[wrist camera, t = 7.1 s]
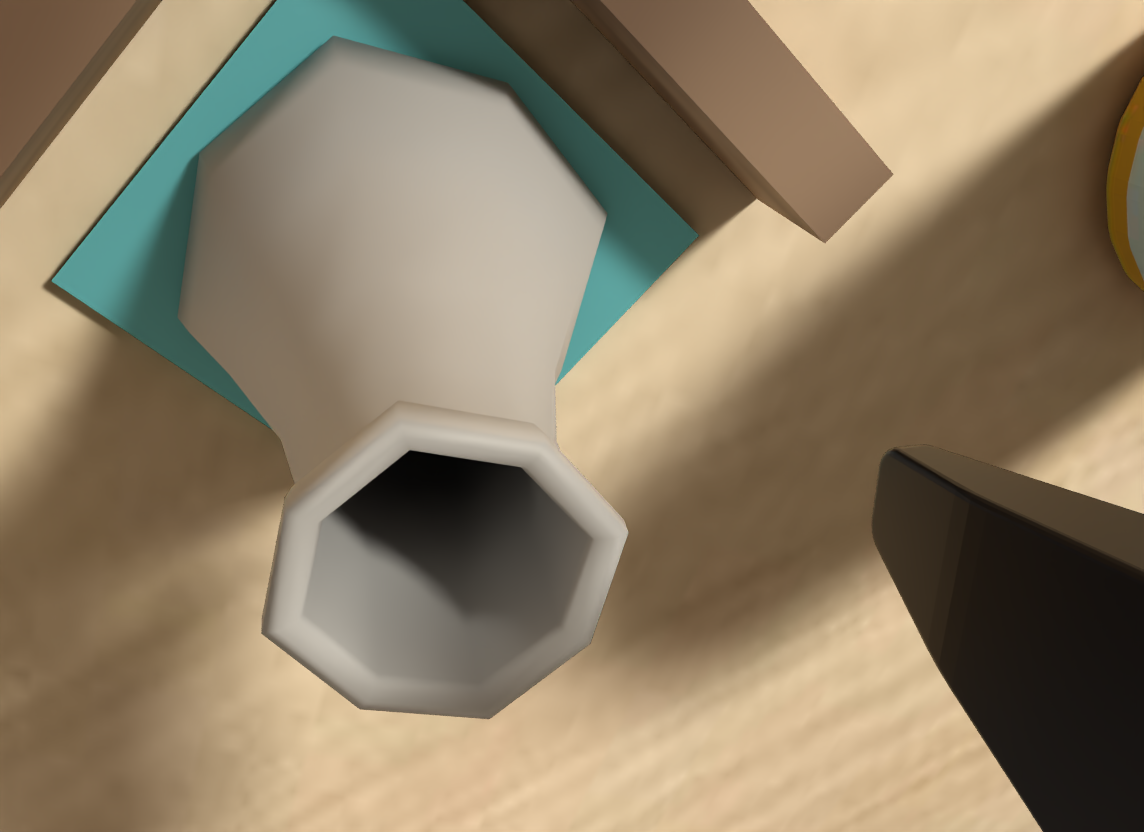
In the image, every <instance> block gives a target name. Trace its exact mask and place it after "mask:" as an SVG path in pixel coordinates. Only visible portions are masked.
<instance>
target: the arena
mask: <svg viewBox="0 0 1144 832" xmlns="http://www.w3.org/2000/svg"><path fill="white" fill-rule="evenodd" d="M161 1H162V0H0V208H1V207H2V206H3V205H4V203H5V202H6V201H7V199H8V198H9V197H10V196H11V194H12V193H13V192H14V190H15V189H16V188H17V187H18V185H19V184H20V183H21V181H22V180H23V179H24V178H25V176H26V175H27V174H28V172H29V171H30V170H31V169H32V167H33V166H34V165H35V163H36V162H37V161H38V159H39V158H40V157H41V156H42V154H43V153H44V152H45V150H46V149H47V148H48V147H49V145H50V144H51V143H52V141H53V140H54V139H55V138H56V136H57V135H58V134H59V132H60V131H61V130H62V129H63V127H64V126H65V125H66V123H67V122H68V121H69V120H70V118H71V117H72V116H73V114H74V113H75V112H76V111H77V109H78V108H79V107H80V105H81V104H82V103H83V102H84V100H85V99H86V98H87V96H88V95H89V94H90V93H91V91H92V90H93V89H94V87H95V86H96V85H97V84H98V82H99V81H100V80H101V78H102V77H103V76H104V75H105V73H106V72H107V71H108V69H109V68H110V67H111V66H112V64H113V63H114V62H115V60H116V59H117V58H118V57H119V55H120V54H121V53H122V51H123V50H124V49H125V48H126V46H127V45H128V44H129V42H130V41H131V40H132V39H133V37H134V36H135V35H136V33H137V32H138V31H139V30H140V28H141V27H142V26H143V24H144V23H145V22H146V20H147V19H148V18H149V17H150V15H151V14H152V13H153V11H154V10H155V9H156V8H157V6H158V5H159V4H160V2H161ZM571 1H572V2H573V4H574V5H575V6H576V7H577V8H578V9H579V10H580V11H581V12H582V13H583V14H584V15H585V16H586V17H587V18H588V19H589V21H590V22H591V23H592V24H593V25H594V26H595V27H596V28H597V29H598V30H599V31H600V32H601V33H602V34H603V35H604V36H605V38H606V39H607V40H608V41H609V42H610V43H611V44H612V45H613V46H614V47H615V48H616V49H617V50H618V51H619V52H620V53H621V55H622V56H623V57H624V58H625V59H626V60H627V61H628V62H629V63H630V64H631V65H632V66H633V67H634V68H635V69H636V70H637V72H638V73H639V74H640V75H641V76H642V77H643V78H644V79H645V80H646V81H647V82H648V83H649V84H650V85H651V86H652V87H653V89H654V90H655V91H656V92H657V93H658V94H659V95H660V96H661V97H662V98H663V99H664V100H665V101H666V102H667V103H668V104H669V105H670V107H671V108H672V109H673V110H674V111H675V112H676V113H677V114H678V115H679V116H680V117H681V118H682V119H683V120H684V121H685V122H686V124H687V125H688V126H689V127H690V128H691V129H692V130H693V131H694V132H695V133H696V134H697V135H698V136H699V137H700V138H701V139H702V141H703V142H704V143H705V144H706V145H707V146H708V147H709V148H710V149H711V150H712V151H713V152H714V153H715V154H716V155H717V156H718V158H719V159H720V160H721V161H722V162H723V163H724V164H725V165H726V166H727V167H728V168H729V169H730V170H731V171H732V172H733V173H734V175H735V176H736V177H737V178H738V179H739V180H740V181H741V182H742V183H743V184H744V185H745V186H746V187H747V188H748V189H749V190H750V192H751V193H752V194H753V195H754V196H755V197H756V198H757V199H758V200H760V201H761V202H763V203H764V204H766V205H767V206H769V207H770V208H772V209H773V210H775V211H776V212H778V213H779V214H781V215H782V216H784V217H786V218H787V219H789V220H790V221H792V222H793V223H795V224H796V225H798V226H799V227H801V228H802V229H804V230H805V231H807V232H808V233H810V234H812V235H813V236H815V237H816V238H818V239H819V240H821V241H822V242H824V243H826V242H827V241H828V240H829V239H830V238H831V237H832V236H833V235H834V234H835V233H836V232H837V231H838V230H839V229H840V228H841V227H842V226H843V225H844V224H845V223H846V222H847V221H848V220H849V219H850V218H851V217H852V216H853V215H854V214H855V213H856V212H857V211H858V210H859V209H860V208H861V206H862V205H863V204H864V203H865V202H866V201H867V200H868V199H869V198H870V197H871V196H872V195H873V194H874V193H875V192H876V191H877V190H878V189H879V188H880V187H881V186H882V185H883V184H884V183H885V182H886V181H887V180H888V179H889V178H890V177H891V176H892V175H893V173H892V172H891V171H890V170H889V168H888V167H887V166H886V165H885V164H884V162H883V161H882V160H881V159H880V158H879V157H878V155H877V154H876V153H875V152H874V151H873V149H872V148H871V147H870V146H869V145H868V143H867V142H866V141H865V140H864V139H863V137H862V136H861V135H860V134H859V133H858V131H857V130H856V129H855V128H854V127H853V126H852V124H851V123H850V122H849V121H848V120H847V118H846V117H845V116H844V115H843V114H842V112H841V111H840V110H839V109H838V108H837V106H836V105H835V104H834V103H833V102H832V100H831V99H830V98H829V97H828V96H827V94H826V93H825V92H824V91H823V90H822V89H821V87H820V86H819V85H818V84H817V83H816V81H815V80H814V79H813V78H812V77H811V75H810V74H809V73H808V72H807V71H806V69H805V68H804V67H803V66H802V65H801V63H800V62H799V61H798V60H797V59H796V58H795V56H794V55H793V54H792V53H791V52H790V50H789V49H788V48H787V47H786V46H785V44H784V43H783V42H782V41H781V40H780V38H779V37H778V36H777V35H776V34H775V32H774V31H773V30H772V29H771V28H770V26H769V25H768V24H767V23H766V22H765V21H764V19H763V18H762V17H761V16H760V15H759V13H758V12H757V11H756V10H755V9H754V7H753V6H752V5H751V4H750V3H749V1H748V0H571Z"/></svg>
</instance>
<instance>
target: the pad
mask: <svg viewBox="0 0 1144 832" xmlns="http://www.w3.org/2000/svg"><path fill="white" fill-rule="evenodd" d="M333 35H334V36H337V37H341V38H345V39H348V40H352V41H356V42H359V43H363V44H367V45H371V46H374V47H378V48H382V49H385V50H389V51H393V52H396V53H400V54H404V55H407V56H411V57H415V58H418V59H422V60H426V61H430V62H433V63H437V64H441V65H444V66H448V67H452V68H455V69H459V70H463V71H466V72H470V73H474V74H477V75H481V76H485V77H488V78H492V79H496V80H500V81H503V82H507V83H509V85H510V86H511V87H512V88H513V90H514V91H515V92H516V94H517V95H518V96H519V98H520V99H521V100H522V102H523V103H524V104H525V106H526V107H527V108H528V110H529V111H530V112H531V113H532V115H533V116H534V117H535V119H536V120H537V121H538V123H539V124H540V125H541V127H542V128H543V129H544V131H545V132H546V133H547V134H548V136H549V137H550V138H551V140H552V141H553V142H554V144H555V145H556V146H557V148H558V149H559V150H560V152H561V153H562V154H563V155H564V157H565V158H566V159H567V161H568V162H569V163H570V165H571V166H572V167H573V169H574V170H575V171H576V173H577V174H578V175H579V177H580V178H581V179H582V180H583V182H584V183H585V184H586V186H587V187H588V188H589V190H590V191H591V192H592V194H593V195H594V196H595V198H596V199H597V200H598V201H599V203H600V204H601V205H602V207H603V208H604V209H605V211H606V212H607V213H608V214H607V217H606V221H605V224H604V227H603V231H602V234H601V238H600V241H599V244H598V248H597V251H596V255H595V258H594V262H593V265H592V268H591V272H590V275H589V279H588V282H587V285H586V289H585V292H584V296H583V299H582V302H581V306H580V309H579V313H578V316H577V319H576V323H575V326H574V330H573V333H572V337H571V340H570V343H569V347H568V350H567V354H566V357H565V360H564V363H563V367H562V370H561V372H560V375H559V377H558V379H557V381H556V383H555V385H556V384H557V383H558V382H559V381H560V380H561V379H562V378H563V377H564V376H565V375H566V374H567V373H568V372H569V371H570V370H571V369H572V368H573V367H574V365H575V364H576V363H577V362H578V361H579V360H580V359H581V358H582V357H583V356H584V355H585V354H586V353H587V352H588V351H589V350H590V349H591V348H592V347H593V346H594V345H595V344H596V343H597V341H598V340H599V339H600V338H601V337H602V336H603V335H604V334H605V333H606V332H607V331H608V330H609V329H610V328H611V327H612V326H613V325H614V324H615V323H616V322H617V321H618V320H619V319H620V317H621V316H622V315H623V314H624V313H625V312H626V311H627V310H628V309H629V308H630V307H631V306H632V305H633V304H634V303H635V302H636V301H637V300H638V299H639V298H640V297H641V296H642V295H643V293H644V292H645V291H646V290H647V289H648V288H649V287H650V286H651V285H652V284H653V283H654V282H655V281H656V280H657V279H658V278H659V277H660V276H661V275H662V274H663V273H664V272H665V271H666V269H667V268H668V267H669V266H670V265H671V264H672V263H673V262H674V261H675V260H676V259H677V258H678V257H679V256H680V255H681V254H682V253H683V252H684V251H685V250H686V249H687V248H688V247H689V245H690V244H691V243H692V242H693V241H694V240H695V239H696V238H697V237H698V236H699V235H698V234H697V233H696V232H695V231H694V230H693V229H692V228H691V227H690V226H689V225H688V224H687V223H686V222H685V221H684V220H683V219H682V218H681V217H680V216H679V215H678V214H677V213H676V212H675V211H674V210H673V209H672V208H671V207H670V206H669V205H668V204H667V203H666V202H665V201H664V200H663V199H662V198H661V197H660V196H659V195H658V194H657V193H656V192H655V191H654V190H653V189H652V188H651V187H650V186H649V185H648V184H647V183H646V182H645V181H644V180H643V179H642V178H641V177H640V176H639V175H638V174H637V173H636V172H635V171H634V170H633V169H632V168H631V167H630V166H629V165H628V164H627V163H626V162H625V161H624V160H623V159H622V158H621V157H620V156H619V155H618V154H617V153H616V152H615V151H614V150H613V149H612V148H611V147H610V146H609V145H608V144H607V143H606V142H605V141H604V140H603V139H602V138H601V137H600V136H599V135H598V134H597V133H596V132H595V131H594V130H593V129H592V128H591V127H590V126H589V125H588V124H587V123H586V122H585V121H584V120H583V119H582V118H581V117H580V116H579V115H578V114H577V113H576V112H575V111H574V110H573V109H572V108H571V107H570V106H569V105H568V104H567V103H566V102H565V101H564V100H563V99H562V98H561V97H560V96H559V95H558V94H557V93H556V92H555V91H554V90H553V89H552V88H551V87H550V86H549V85H548V84H547V83H546V82H545V81H544V80H543V79H542V78H541V77H540V76H539V75H538V74H537V73H536V72H535V71H534V70H533V69H532V68H530V67H529V66H528V65H527V64H526V63H525V62H524V61H523V60H522V59H521V58H520V57H519V56H518V55H517V54H516V53H515V52H514V51H513V50H512V49H511V48H510V47H509V46H508V45H507V44H506V43H505V42H504V41H503V40H502V39H501V38H500V37H499V36H498V35H497V34H496V33H495V32H494V31H493V30H492V29H491V28H490V27H489V26H488V25H487V24H486V23H485V22H484V21H483V20H482V19H481V18H480V17H479V16H478V15H477V14H476V13H475V12H474V11H473V10H472V9H471V8H470V7H469V6H468V5H467V4H466V3H465V2H464V1H463V0H277V1H276V2H275V3H274V5H273V6H272V7H271V8H270V10H269V11H268V12H267V13H266V15H265V16H264V17H263V18H262V19H261V21H260V22H259V23H258V24H257V26H256V27H255V28H254V29H253V31H252V32H251V33H250V34H249V36H248V37H247V38H246V39H245V41H244V42H243V43H242V44H241V46H240V47H239V48H238V49H237V51H236V52H235V53H234V54H233V56H232V57H231V58H230V59H229V61H228V62H227V63H226V64H225V66H224V67H223V68H222V69H221V70H220V72H219V73H218V74H217V75H216V77H215V78H214V79H213V80H212V82H211V83H210V84H209V85H208V87H207V88H206V89H205V90H204V92H203V93H202V94H201V95H200V97H199V98H198V99H197V100H196V102H195V103H194V104H193V105H192V107H191V108H190V109H189V110H188V112H187V113H186V114H185V115H184V116H183V118H182V119H181V120H180V121H179V123H178V124H177V125H176V126H175V128H174V129H173V130H172V131H171V133H170V134H169V135H168V136H167V138H166V139H165V140H164V141H163V143H162V144H161V145H160V146H159V148H158V149H157V150H156V151H155V153H154V154H153V155H152V156H151V158H150V159H149V160H148V161H147V162H146V164H145V165H144V166H143V167H142V169H141V170H140V171H139V172H138V174H137V175H136V176H135V177H134V179H133V180H132V181H131V182H130V184H129V185H128V186H127V187H126V189H125V190H124V191H123V192H122V194H121V195H120V196H119V197H118V199H117V200H116V201H115V202H114V204H113V205H112V206H111V207H110V208H109V210H108V211H107V212H106V213H105V215H104V216H103V217H102V218H101V220H100V221H99V222H98V223H97V225H96V226H95V227H94V228H93V230H92V231H91V232H90V233H89V235H88V236H87V237H86V238H85V240H84V241H83V242H82V243H81V245H80V246H79V247H78V248H77V250H76V251H75V252H74V253H73V254H72V256H71V257H70V258H69V259H68V261H67V262H66V263H65V264H64V266H63V267H62V268H61V269H60V271H59V272H58V273H57V274H56V276H55V277H54V278H53V279H52V282H53V283H55V284H56V285H58V286H59V287H61V288H62V289H64V290H65V291H67V292H68V293H70V294H71V295H73V296H74V297H76V298H77V299H79V300H80V301H82V302H83V303H85V304H86V305H87V306H89V307H90V308H92V309H93V310H95V311H96V312H98V313H99V314H101V315H102V316H104V317H105V318H107V319H108V320H110V321H111V322H113V323H114V324H116V325H117V326H119V327H120V328H122V329H123V330H125V331H126V332H128V333H129V334H131V335H132V336H134V337H135V338H137V339H138V340H140V341H141V342H142V343H144V344H145V345H147V346H148V347H150V348H151V349H153V350H154V351H156V352H157V353H159V354H160V355H162V356H163V357H165V358H166V359H168V360H169V361H171V362H172V363H174V364H175V365H177V366H178V367H180V368H181V369H183V370H184V371H186V372H187V373H189V374H190V375H192V376H193V377H195V378H196V379H197V380H199V381H200V382H202V383H203V384H205V385H206V386H208V387H209V388H211V389H212V390H214V391H215V392H217V393H218V394H220V395H221V396H223V397H224V398H226V399H227V400H229V401H230V402H232V403H233V404H235V405H236V406H238V407H239V408H241V409H242V410H244V411H245V412H247V413H248V414H250V415H251V416H252V417H254V418H255V419H257V420H258V421H260V422H261V423H263V424H264V425H266V426H267V427H269V428H270V429H272V428H271V427H270V426H269V424H268V423H267V422H266V420H265V419H264V418H263V417H262V415H261V414H260V413H259V412H258V410H257V409H256V408H255V406H254V405H253V404H252V403H251V401H250V400H249V399H248V398H247V396H246V395H245V394H244V392H243V391H242V390H241V389H240V387H239V386H238V385H237V384H236V382H235V381H234V380H233V378H232V377H231V376H230V375H229V374H228V373H227V371H226V370H225V369H224V368H223V367H222V366H221V365H220V364H219V363H218V362H217V361H216V360H215V359H214V358H213V357H212V356H211V355H210V354H209V353H208V352H207V350H206V349H205V348H204V347H203V346H202V345H201V344H200V343H199V342H198V341H197V340H196V339H195V338H194V337H193V336H192V335H191V334H190V333H189V331H188V330H187V329H186V328H185V326H184V325H183V324H182V323H181V321H180V320H179V319H178V318H177V317H178V310H179V302H180V295H181V287H182V280H183V272H184V265H185V257H186V250H187V242H188V235H189V228H190V220H191V213H192V205H193V198H194V190H195V183H196V175H197V168H198V160H199V153H200V152H201V151H202V150H203V149H204V148H206V147H207V146H208V145H209V144H210V143H211V142H212V141H213V140H215V139H216V138H217V137H218V136H219V135H220V134H221V133H223V132H224V131H225V130H226V129H227V128H228V127H229V126H231V125H232V124H233V123H234V122H235V121H236V120H237V119H239V118H240V117H241V116H242V115H243V114H244V113H245V112H247V111H248V110H249V109H250V108H251V107H252V106H253V105H255V104H256V103H257V102H258V101H259V100H260V99H261V98H263V97H264V96H265V95H266V94H267V93H268V92H269V91H271V90H272V89H273V88H274V87H275V86H276V85H277V84H279V83H280V82H281V81H282V80H283V79H284V78H285V77H287V76H288V75H289V74H290V73H291V72H292V71H293V70H295V69H296V68H297V67H298V66H299V65H300V64H301V63H303V62H304V61H305V60H306V59H307V58H308V57H309V56H311V55H312V54H313V53H314V52H315V51H316V50H317V49H319V48H320V47H321V46H322V45H323V44H324V43H325V42H327V41H328V40H329V39H330V38H331V37H332V36H333ZM272 430H273V429H272Z"/></svg>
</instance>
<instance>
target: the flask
mask: <svg viewBox="0 0 1144 832" xmlns="http://www.w3.org/2000/svg"><path fill="white" fill-rule="evenodd" d="M607 214H608V213H607V212H606V211H605V209H604V208H603V207H602V205H601V204H600V203H599V201H598V200H597V199H596V198H595V196H594V195H593V194H592V192H591V191H590V190H589V188H588V187H587V186H586V184H585V183H584V182H583V180H582V179H581V178H580V177H579V175H578V174H577V173H576V171H575V170H574V169H573V167H572V166H571V165H570V163H569V162H568V161H567V159H566V158H565V157H564V155H563V154H562V153H561V152H560V150H559V149H558V148H557V146H556V145H555V144H554V142H553V141H552V140H551V138H550V137H549V136H548V134H547V133H546V132H545V131H544V129H543V128H542V127H541V125H540V124H539V123H538V121H537V120H536V119H535V117H534V116H533V115H532V113H531V112H530V111H529V110H528V108H527V107H526V106H525V104H524V103H523V102H522V100H521V99H520V98H519V96H518V95H517V94H516V92H515V91H514V90H513V88H512V87H511V86H510V85H509V83H507V82H503V81H500V80H496V79H492V78H488V77H485V76H481V75H477V74H474V73H470V72H466V71H463V70H459V69H455V68H452V67H448V66H444V65H441V64H437V63H433V62H430V61H426V60H422V59H418V58H415V57H411V56H407V55H404V54H400V53H396V52H393V51H389V50H385V49H382V48H378V47H374V46H371V45H367V44H363V43H359V42H356V41H352V40H348V39H345V38H341V37H337V36H334V35H333V36H332V37H331V38H330V39H329V40H328V41H327V42H325V43H324V44H323V45H322V46H321V47H320V48H319V49H317V50H316V51H315V52H314V53H313V54H312V55H311V56H309V57H308V58H307V59H306V60H305V61H304V62H303V63H301V64H300V65H299V66H298V67H297V68H296V69H295V70H293V71H292V72H291V73H290V74H289V75H288V76H287V77H285V78H284V79H283V80H282V81H281V82H280V83H279V84H277V85H276V86H275V87H274V88H273V89H272V90H271V91H269V92H268V93H267V94H266V95H265V96H264V97H263V98H261V99H260V100H259V101H258V102H257V103H256V104H255V105H253V106H252V107H251V108H250V109H249V110H248V111H247V112H245V113H244V114H243V115H242V116H241V117H240V118H239V119H237V120H236V121H235V122H234V123H233V124H232V125H231V126H229V127H228V128H227V129H226V130H225V131H224V132H223V133H221V134H220V135H219V136H218V137H217V138H216V139H215V140H213V141H212V142H211V143H210V144H209V145H208V146H207V147H206V148H204V149H203V150H202V151H201V152H200V153H199V160H198V168H197V175H196V183H195V190H194V198H193V205H192V213H191V220H190V228H189V235H188V242H187V250H186V257H185V265H184V272H183V280H182V287H181V295H180V302H179V310H178V317H177V318H178V319H179V320H180V321H181V323H182V324H183V325H184V326H185V328H186V329H187V330H188V331H189V333H190V334H191V335H192V336H193V337H194V338H195V339H196V340H197V341H198V342H199V343H200V344H201V345H202V346H203V347H204V348H205V349H206V350H207V352H208V353H209V354H210V355H211V356H212V357H213V358H214V359H215V360H216V361H217V362H218V363H219V364H220V365H221V366H222V367H223V368H224V369H225V370H226V371H227V373H228V374H229V375H230V376H231V377H232V378H233V380H234V381H235V382H236V384H237V385H238V386H239V387H240V389H241V390H242V391H243V392H244V394H245V395H246V396H247V398H248V399H249V400H250V401H251V403H252V404H253V405H254V406H255V408H256V409H257V410H258V412H259V413H260V414H261V415H262V417H263V418H264V419H265V420H266V422H267V423H268V424H269V426H270V427H271V428H272V429H273V431H274V432H275V433H276V434H277V436H278V437H279V438H280V440H281V442H282V446H283V449H284V452H285V455H286V458H287V461H288V465H289V468H290V471H291V474H292V477H293V481H294V485H293V486H292V487H291V489H290V490H289V492H288V493H287V495H286V497H285V499H284V504H283V510H282V515H281V520H280V525H279V531H278V536H277V541H276V546H275V552H274V557H273V562H272V567H271V573H270V578H269V583H268V588H267V594H266V599H265V604H264V609H263V615H262V633H261V634H263V635H264V636H265V637H267V638H268V639H269V640H271V641H272V642H273V643H274V644H276V645H277V646H278V647H280V648H281V649H282V650H284V651H285V652H286V653H287V654H289V655H290V656H291V657H293V658H294V659H295V660H297V661H298V662H299V663H300V664H302V665H303V666H304V667H306V668H307V669H308V670H310V671H311V672H312V673H313V674H315V675H316V676H317V677H319V678H320V679H321V680H323V681H324V682H325V683H326V684H328V685H329V686H330V687H332V688H333V689H334V690H336V691H337V692H338V693H339V694H341V695H342V696H343V697H345V698H346V699H347V700H349V701H350V702H351V703H352V704H354V705H355V706H356V707H358V708H359V709H363V710H376V711H389V712H403V713H416V714H429V715H442V716H455V717H468V718H481V719H490V718H492V717H493V716H494V715H496V714H497V713H498V712H500V711H501V710H502V709H504V708H505V707H506V706H508V705H509V704H510V703H512V702H513V701H514V700H516V699H517V698H518V697H520V696H521V695H522V694H524V693H525V692H526V691H528V690H529V689H530V688H532V687H533V686H534V685H536V684H537V683H538V682H540V681H541V680H542V679H544V678H545V677H546V676H548V675H549V674H550V673H552V672H553V671H554V670H556V669H557V668H558V667H560V666H561V665H562V664H564V663H565V662H566V661H568V660H569V659H570V658H572V657H573V656H574V655H576V654H577V653H578V652H580V651H581V650H582V649H584V648H585V647H586V646H588V645H589V644H590V643H591V640H592V638H593V635H594V632H595V629H596V626H597V623H598V620H599V617H600V614H601V611H602V608H603V606H604V603H605V600H606V597H607V594H608V591H609V588H610V585H611V582H612V579H613V576H614V573H615V571H616V568H617V565H618V562H619V559H620V556H621V553H622V550H623V547H624V544H625V541H626V539H627V536H628V530H627V527H626V524H625V521H624V519H623V518H622V517H621V516H620V515H619V514H618V513H617V512H616V510H615V509H614V508H613V507H612V506H611V505H610V504H609V503H608V502H607V501H606V500H605V499H604V497H603V496H602V495H601V494H600V493H599V492H598V491H597V490H596V489H595V488H594V487H593V486H592V484H591V483H590V482H589V481H588V480H587V479H586V478H585V477H584V476H583V475H582V474H581V472H580V471H579V470H578V469H577V468H576V467H575V466H574V465H573V464H572V463H571V462H570V461H569V459H568V458H567V457H566V456H565V455H564V454H563V453H562V452H561V451H560V448H559V446H558V443H557V440H556V397H555V383H556V381H557V379H558V377H559V375H560V372H561V370H562V367H563V363H564V360H565V357H566V354H567V350H568V347H569V343H570V340H571V337H572V333H573V330H574V326H575V323H576V319H577V316H578V313H579V309H580V306H581V302H582V299H583V296H584V292H585V289H586V285H587V282H588V279H589V275H590V272H591V268H592V265H593V262H594V258H595V255H596V251H597V248H598V244H599V241H600V238H601V234H602V231H603V227H604V224H605V221H606V217H607Z"/></svg>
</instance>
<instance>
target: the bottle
mask: <svg viewBox="0 0 1144 832" xmlns="http://www.w3.org/2000/svg"><path fill="white" fill-rule="evenodd" d="M1106 197H1107V218H1108V230H1109V234H1110V239H1111V242H1112V244H1113V246H1114V249H1115V251H1116V253H1117V256H1118V258H1119V261H1120V263H1121V265H1122V268H1123V270H1124V271H1125V273H1126V274H1127V275H1128V277H1129V278H1130V279H1131V280H1132V281H1133V282H1134V283H1135V284H1136V285H1137V286H1138V287H1139V288H1140V289H1142V290H1143V291H1144V76H1143V77H1142V79H1141V80H1140V82H1139V84H1138V86H1137V88H1136V90H1135V92H1134V94H1133V96H1132V98H1131V100H1130V102H1129V104H1128V106H1127V108H1126V110H1125V112H1124V114H1123V116H1122V118H1121V119H1120V122H1119V125H1118V128H1117V132H1116V136H1115V141H1114V145H1113V149H1112V153H1111V157H1110V161H1109V166H1108V173H1107V185H1106Z"/></svg>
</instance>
